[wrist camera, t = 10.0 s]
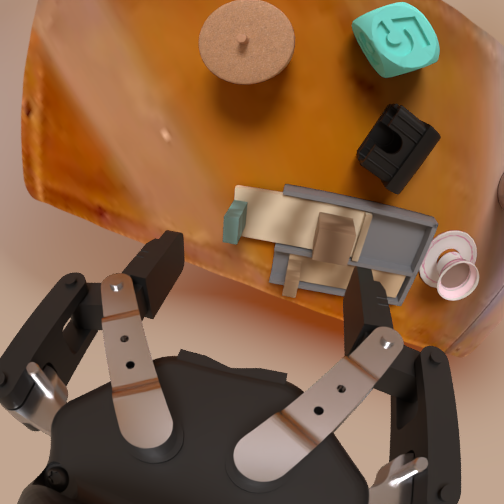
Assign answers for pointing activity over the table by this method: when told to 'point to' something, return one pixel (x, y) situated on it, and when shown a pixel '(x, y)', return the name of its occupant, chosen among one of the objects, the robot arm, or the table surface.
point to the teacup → (451, 265)
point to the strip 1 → (285, 218)
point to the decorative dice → (396, 39)
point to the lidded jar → (246, 41)
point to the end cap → (397, 147)
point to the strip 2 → (331, 275)
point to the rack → (369, 241)
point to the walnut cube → (333, 239)
